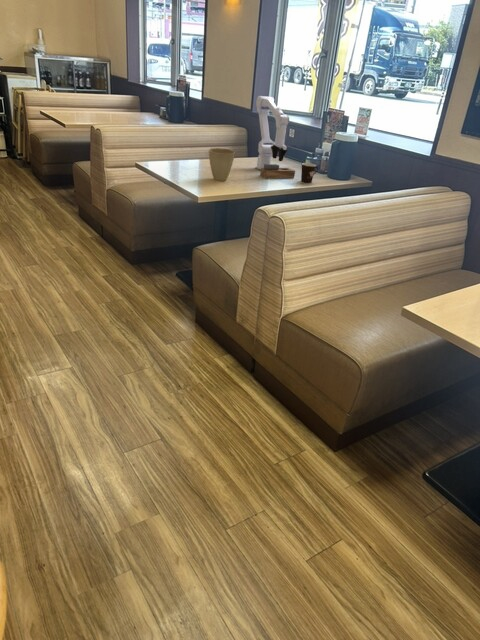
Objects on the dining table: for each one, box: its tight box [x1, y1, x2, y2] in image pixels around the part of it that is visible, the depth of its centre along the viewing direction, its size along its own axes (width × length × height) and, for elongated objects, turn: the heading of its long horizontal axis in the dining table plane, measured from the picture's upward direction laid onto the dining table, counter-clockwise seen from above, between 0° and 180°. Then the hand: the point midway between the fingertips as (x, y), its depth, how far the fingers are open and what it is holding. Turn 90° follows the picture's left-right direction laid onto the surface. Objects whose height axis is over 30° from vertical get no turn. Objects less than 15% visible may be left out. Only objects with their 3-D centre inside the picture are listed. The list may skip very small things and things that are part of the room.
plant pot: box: [208, 147, 236, 182], centre depth 268 cm, size 15×15×16 cm
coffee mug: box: [300, 162, 319, 184], centre depth 286 cm, size 12×9×10 cm
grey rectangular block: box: [264, 163, 280, 170], centre depth 288 cm, size 3×9×6 cm, turn 116°
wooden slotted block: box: [259, 167, 296, 179], centre depth 291 cm, size 8×20×4 cm, turn 115°
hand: (277, 159), depth 291 cm, fingers open, 7 cm apart
